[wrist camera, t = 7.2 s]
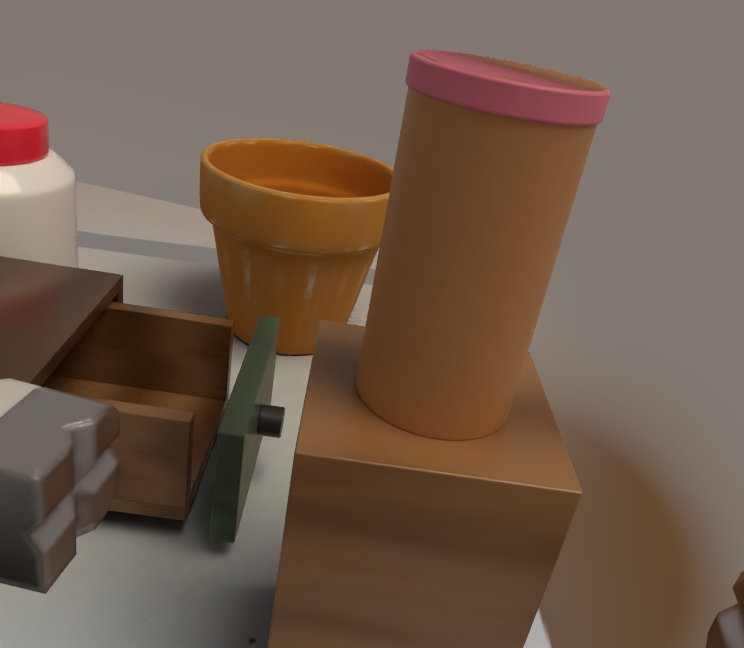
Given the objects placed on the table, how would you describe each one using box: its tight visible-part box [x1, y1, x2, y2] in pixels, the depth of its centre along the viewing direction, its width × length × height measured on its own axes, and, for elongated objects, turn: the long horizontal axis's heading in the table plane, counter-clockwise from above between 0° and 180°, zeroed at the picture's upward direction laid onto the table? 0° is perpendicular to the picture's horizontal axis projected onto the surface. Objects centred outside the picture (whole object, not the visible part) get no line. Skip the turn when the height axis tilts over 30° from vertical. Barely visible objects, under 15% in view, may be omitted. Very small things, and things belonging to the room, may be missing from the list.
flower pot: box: [200, 138, 394, 355], centre depth 51 cm, size 14×14×13 cm
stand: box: [267, 320, 583, 648], centre depth 25 cm, size 8×8×14 cm
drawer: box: [40, 301, 285, 543], centre depth 36 cm, size 15×11×6 cm
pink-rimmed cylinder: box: [356, 50, 610, 440], centre depth 20 cm, size 5×5×10 cm
